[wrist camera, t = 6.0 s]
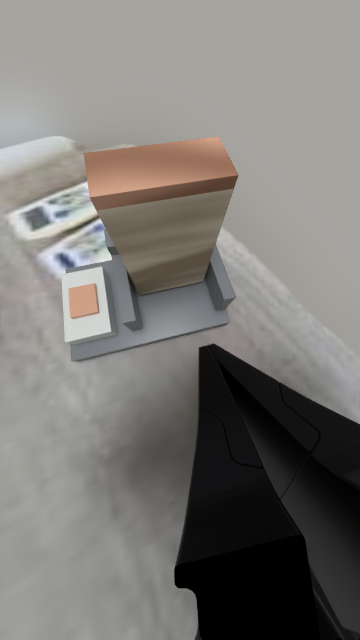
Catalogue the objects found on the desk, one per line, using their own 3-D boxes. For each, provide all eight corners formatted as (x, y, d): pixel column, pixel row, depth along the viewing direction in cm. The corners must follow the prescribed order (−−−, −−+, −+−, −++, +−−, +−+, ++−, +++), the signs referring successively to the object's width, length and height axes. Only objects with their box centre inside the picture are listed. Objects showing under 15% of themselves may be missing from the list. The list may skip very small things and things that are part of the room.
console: (226, 324, 17) (247, 308, 12) (77, 361, 15) (33, 360, 11) (200, 248, 20) (208, 211, 15) (71, 274, 18) (34, 241, 13)
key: (203, 281, 17) (238, 174, 7) (139, 295, 16) (89, 197, 7) (195, 259, 18) (218, 136, 8) (135, 271, 17) (83, 153, 8)
